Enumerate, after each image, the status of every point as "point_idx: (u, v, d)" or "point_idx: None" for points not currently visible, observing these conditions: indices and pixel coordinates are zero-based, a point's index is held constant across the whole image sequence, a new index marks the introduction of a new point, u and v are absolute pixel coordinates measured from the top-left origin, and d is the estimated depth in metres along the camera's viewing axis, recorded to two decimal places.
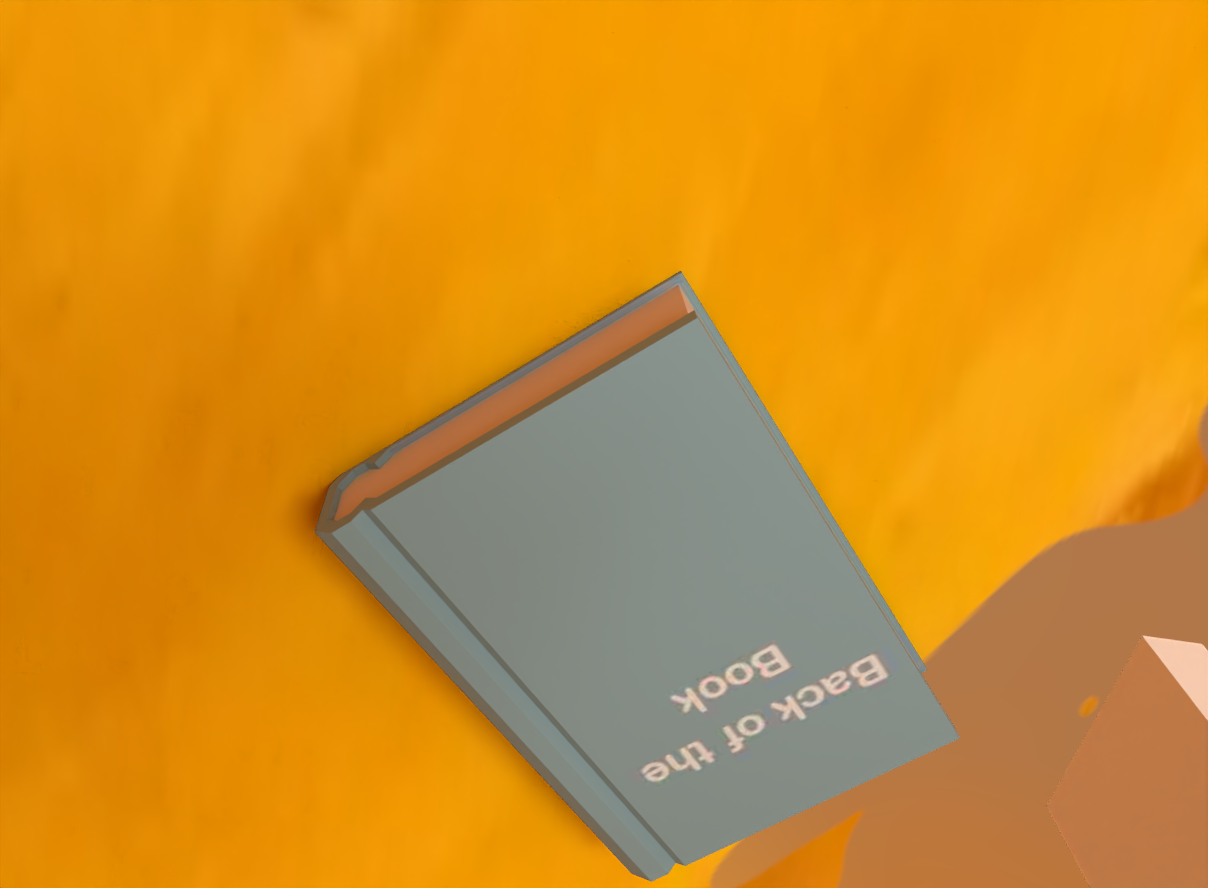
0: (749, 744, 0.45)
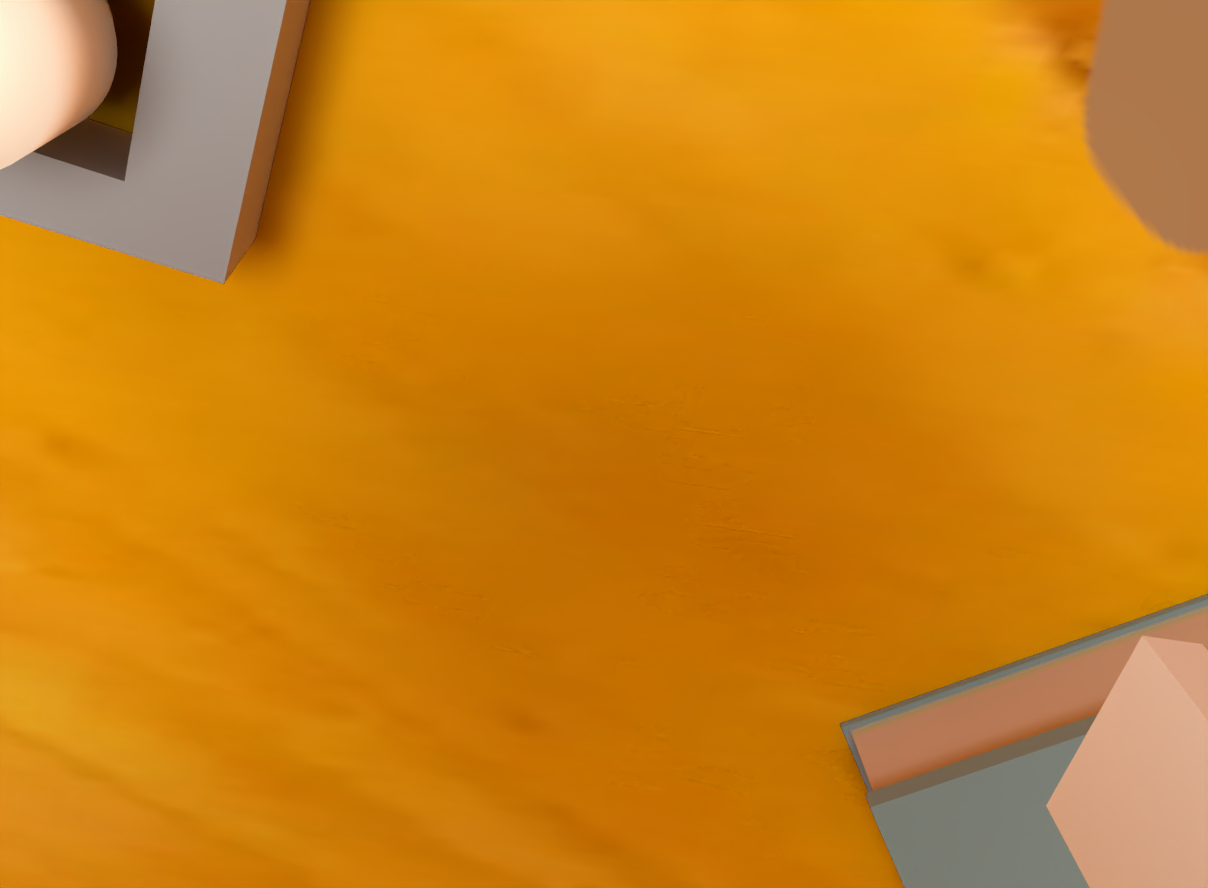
0: None
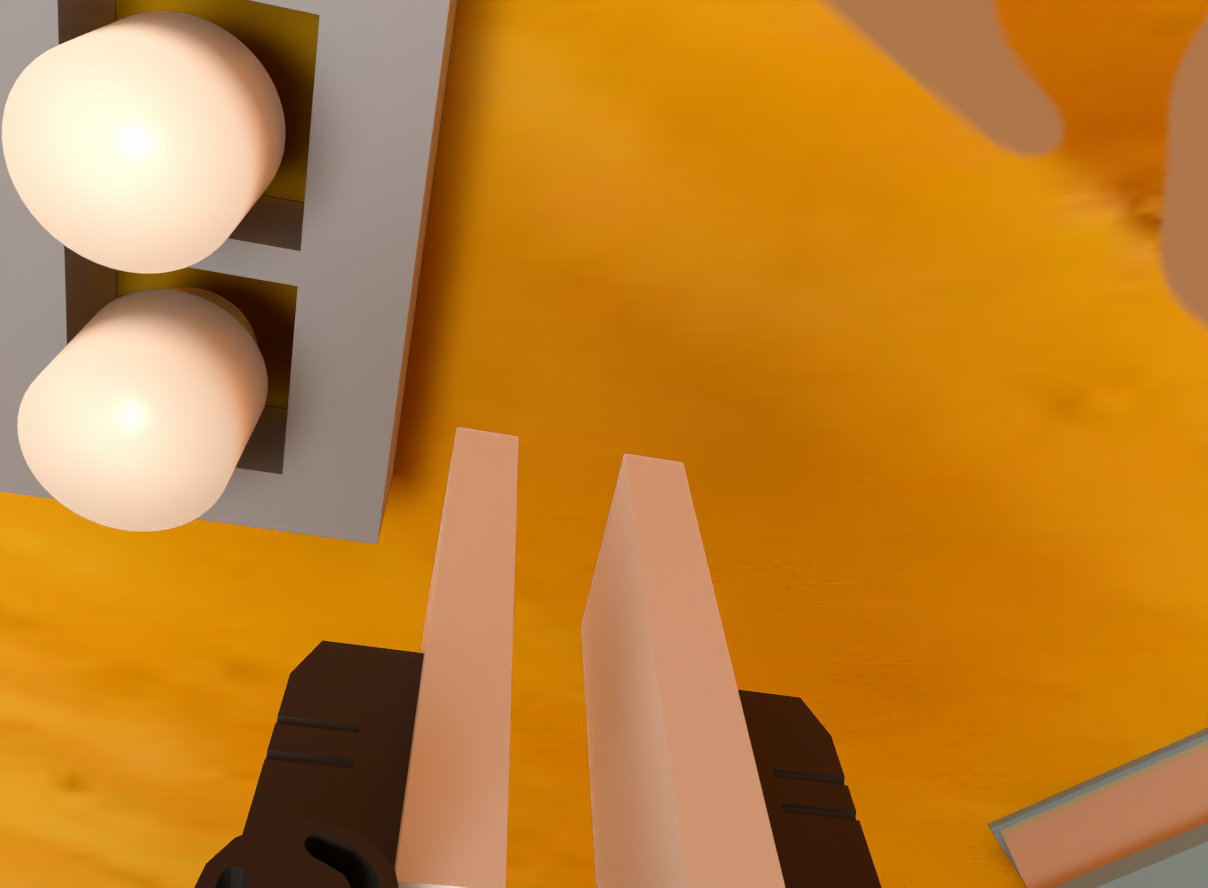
0: None
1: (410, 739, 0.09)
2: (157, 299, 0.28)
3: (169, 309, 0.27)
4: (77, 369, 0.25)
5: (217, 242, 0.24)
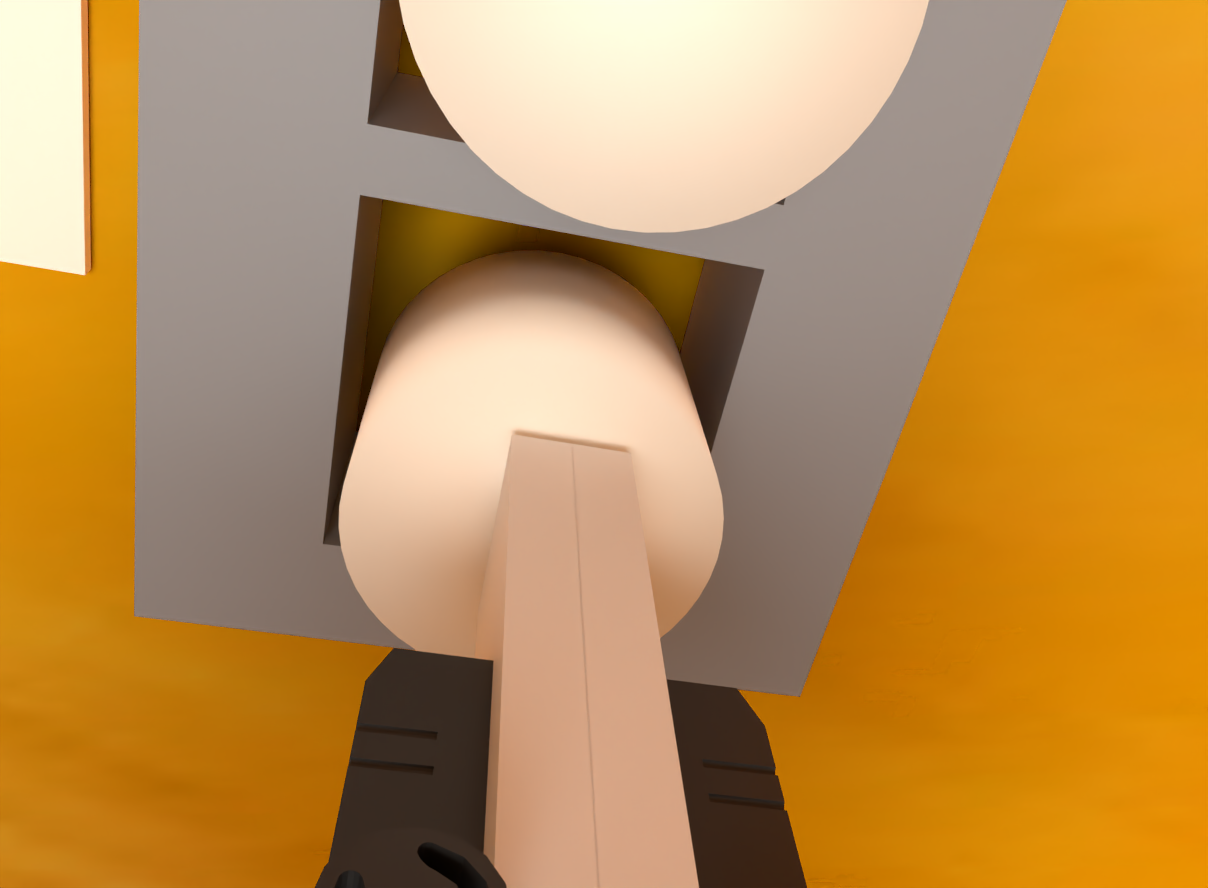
0: None
1: (486, 746, 0.09)
2: (542, 266, 0.16)
3: (574, 283, 0.15)
4: (472, 392, 0.13)
5: (818, 163, 0.11)
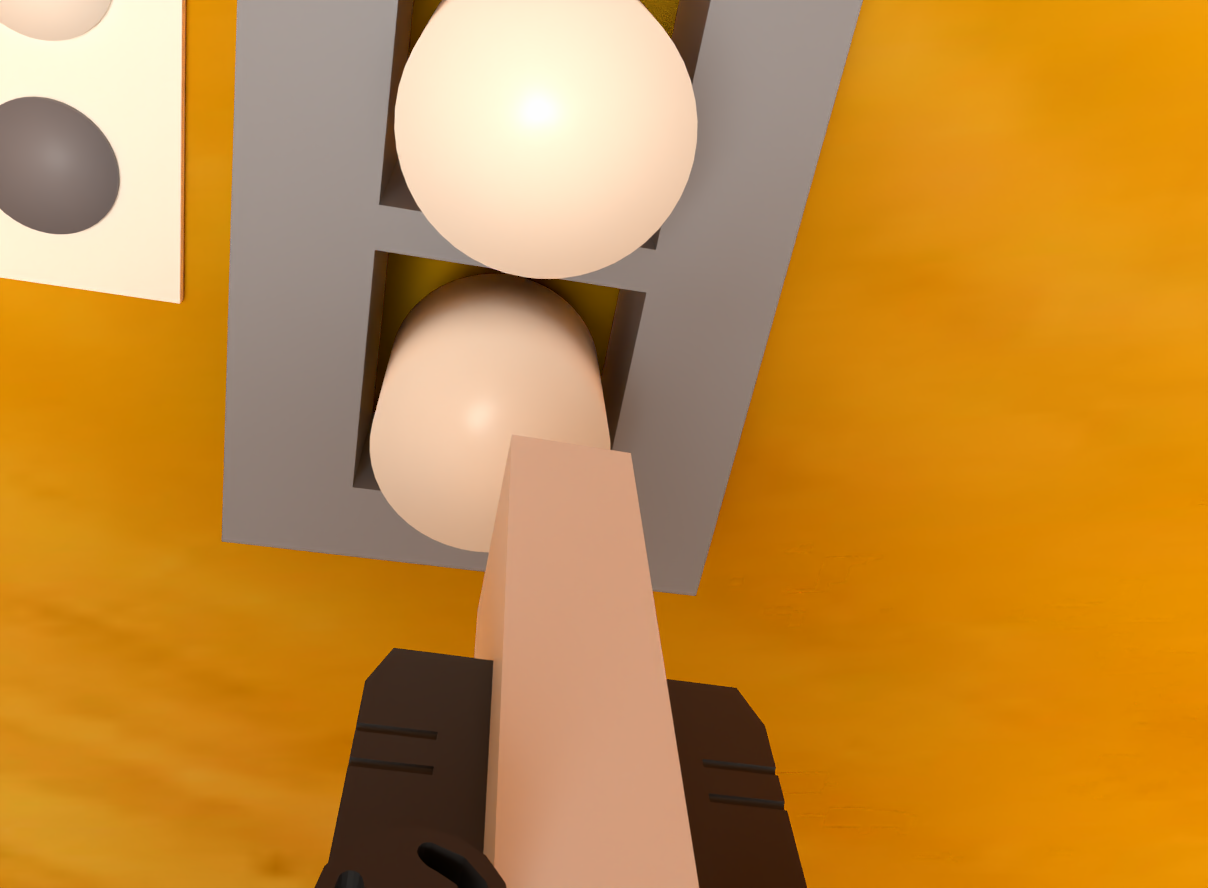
0: None
1: (486, 747, 0.09)
2: (497, 285, 0.24)
3: (517, 295, 0.24)
4: (449, 364, 0.21)
5: (642, 237, 0.19)
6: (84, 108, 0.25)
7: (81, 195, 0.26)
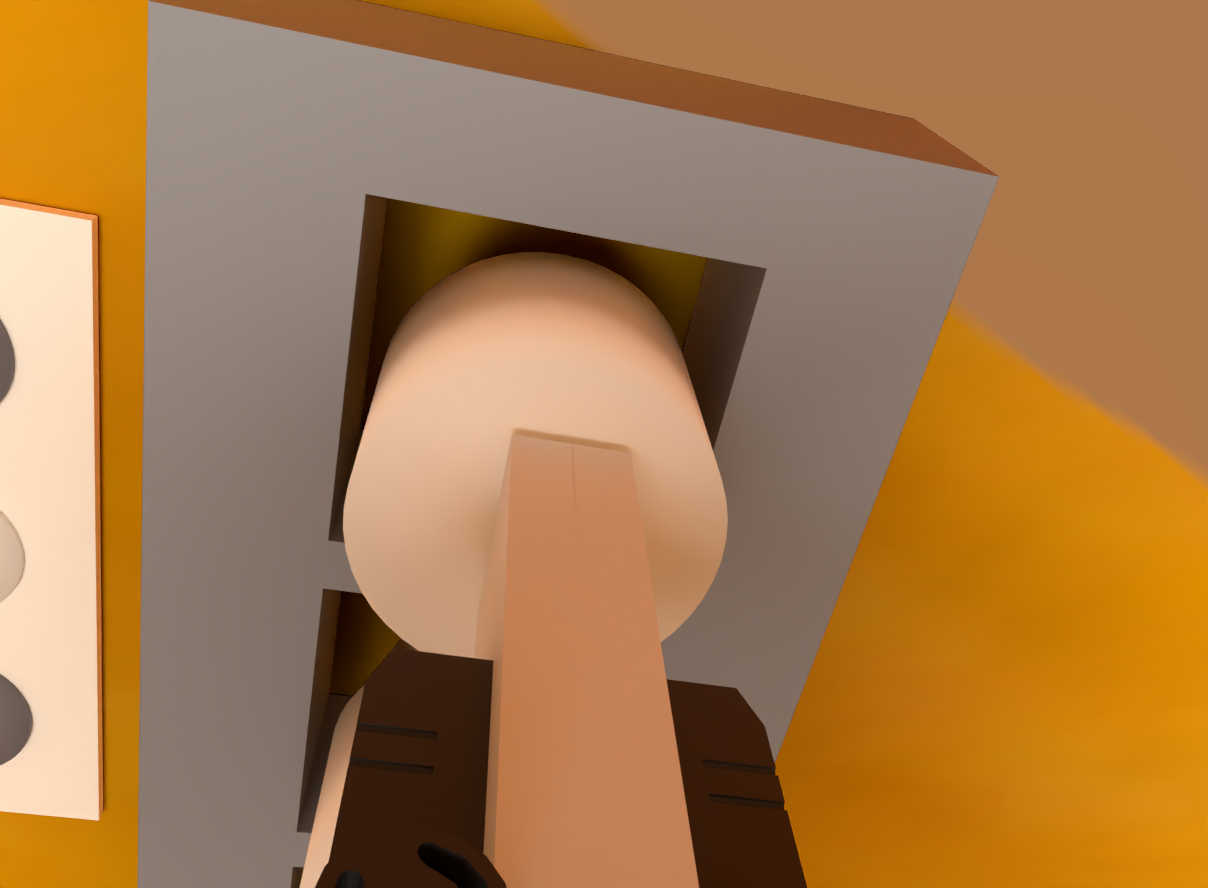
0: None
1: (486, 747, 0.09)
2: None
3: None
4: None
5: None
6: None
7: None
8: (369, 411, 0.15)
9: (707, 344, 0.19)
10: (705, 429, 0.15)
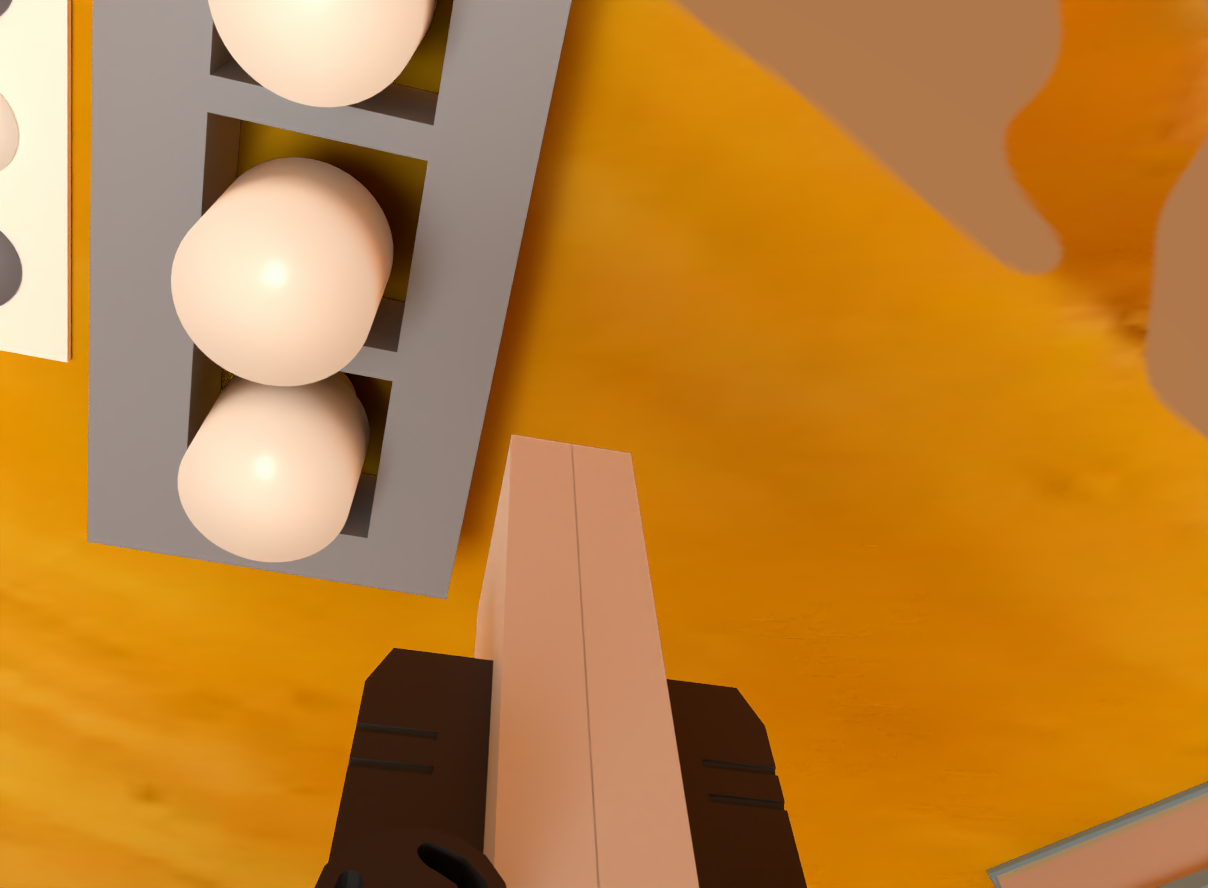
0: None
1: (486, 747, 0.09)
2: None
3: None
4: (231, 432, 0.31)
5: (343, 362, 0.28)
6: None
7: None
8: None
9: None
10: None
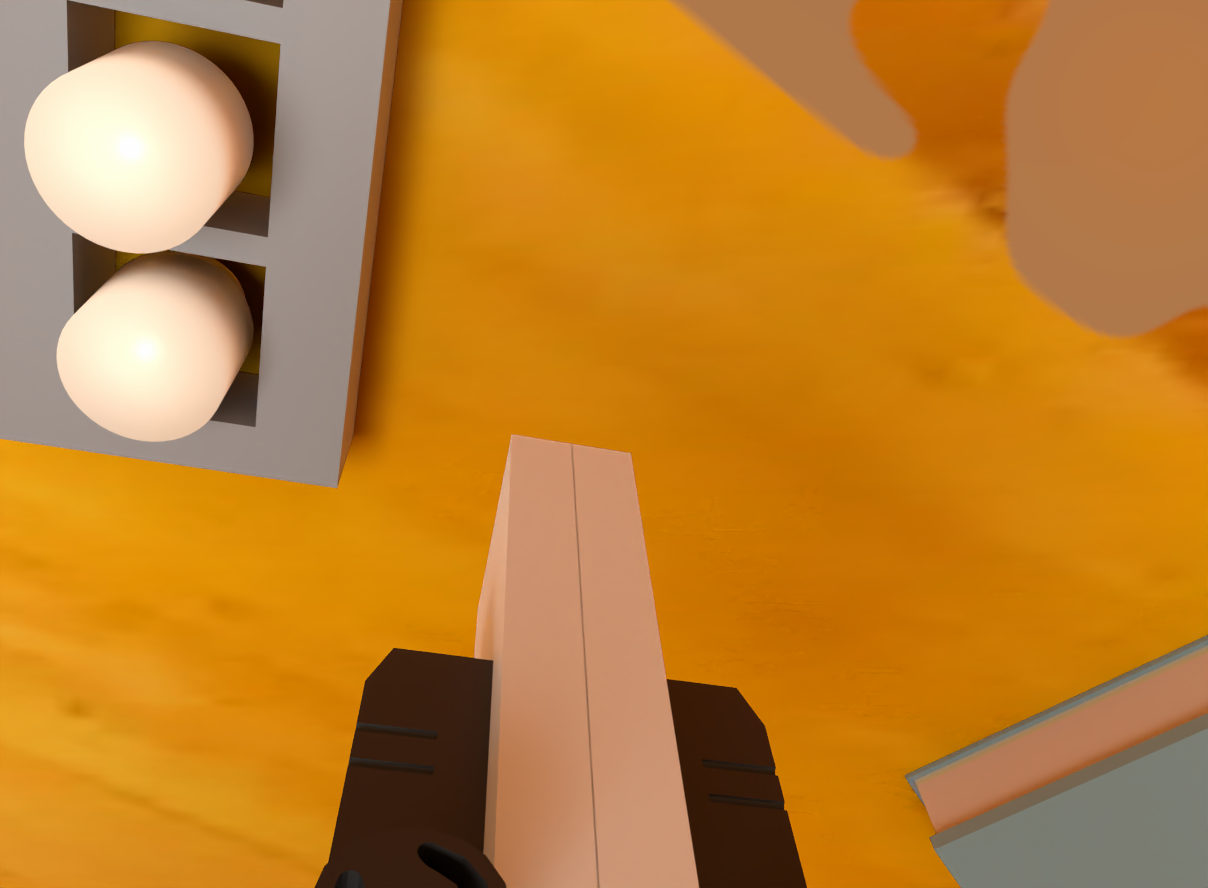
0: None
1: (486, 747, 0.09)
2: (165, 259, 0.35)
3: (174, 266, 0.35)
4: (104, 309, 0.32)
5: (196, 228, 0.30)
6: None
7: None
8: None
9: None
10: None
